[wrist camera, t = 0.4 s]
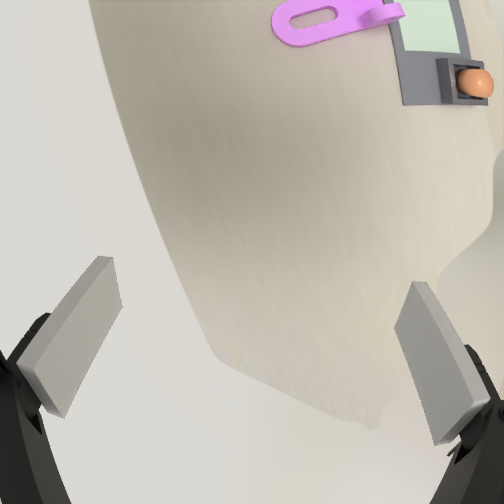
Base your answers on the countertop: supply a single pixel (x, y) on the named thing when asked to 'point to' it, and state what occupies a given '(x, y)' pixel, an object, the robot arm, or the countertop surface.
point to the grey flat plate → (427, 46)
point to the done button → (474, 82)
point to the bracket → (347, 20)
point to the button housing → (449, 83)
